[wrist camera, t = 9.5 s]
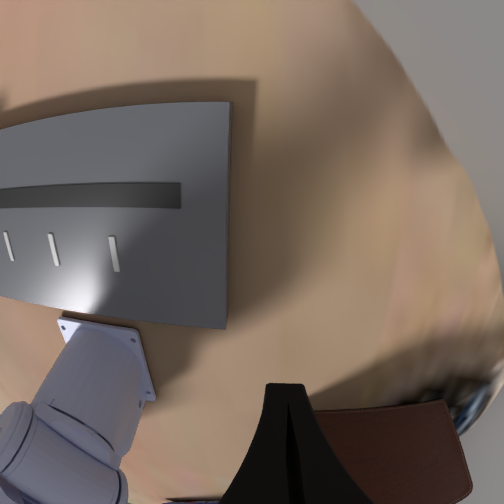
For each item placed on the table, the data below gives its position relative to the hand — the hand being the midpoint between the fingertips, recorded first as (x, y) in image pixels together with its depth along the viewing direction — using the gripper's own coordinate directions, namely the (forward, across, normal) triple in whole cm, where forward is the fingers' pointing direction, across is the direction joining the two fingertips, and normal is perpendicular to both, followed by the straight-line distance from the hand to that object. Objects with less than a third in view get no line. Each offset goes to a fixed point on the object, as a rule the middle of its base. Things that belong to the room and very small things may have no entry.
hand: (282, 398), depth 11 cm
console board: (+10, +18, -3) cm, 21 cm away
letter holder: (+10, -11, +21) cm, 26 cm away
